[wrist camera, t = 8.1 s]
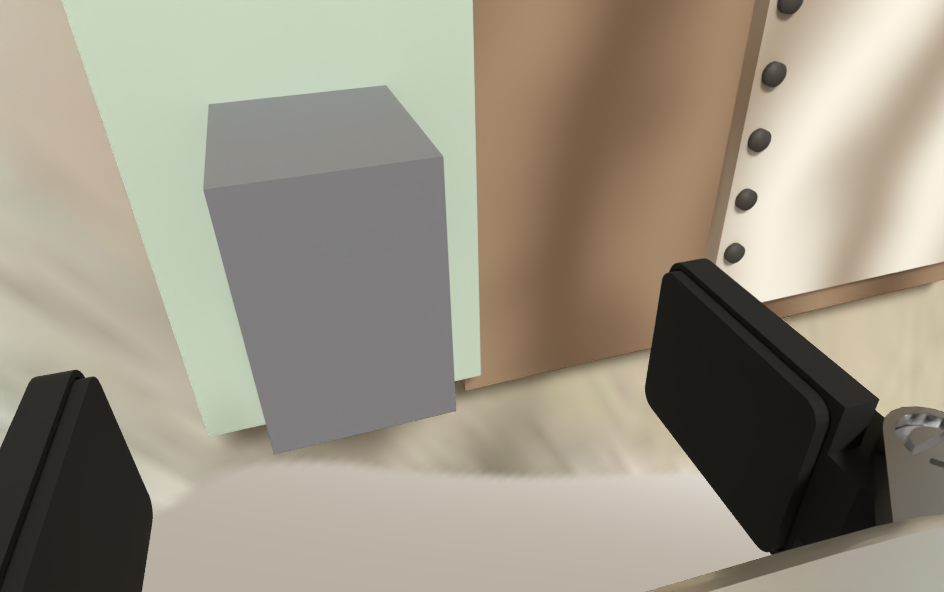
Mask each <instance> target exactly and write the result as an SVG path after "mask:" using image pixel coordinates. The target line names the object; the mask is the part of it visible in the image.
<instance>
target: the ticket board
mask: <svg viewBox="0 0 944 592" xmlns="http://www.w3.org/2000/svg"><path fill="white" fill-rule="evenodd" d="M473 38H474V84H475V130H476V176H477V222H478V268H479V314H480V360H481V375H480V376H476V377H471V378H467V379H462V380H461V383H462V385H463V387H464V389H465V391H467V390H471V389H475V388H480V387H484V386H488V385H493V384H497V383H501V382H505V381H510V380H514V379H518V378H523V377H527V376H531V375H536V374H540V373H544V372H549V371H553V370H557V369H561V368H566V367H570V366H574V365H579V364H583V363H587V362H592V361H596V360H600V359H605V358H609V357H613V356H617V355H622V354H626V353H630V352H635V351H639V350H643V349H648V348H651V346H652V339H653V333H654V327H655V320H656V314H657V308H658V301H659V295H660V288H661V282H662V278H663V276H664V275H665V274H666V273H668V272H669V271H670V268H671V267H672V265H674V264H675V263H679V262H685V261H690V260H696V259H701V258H706V259H708V260H710V261H712V262H713V263H714V264H715V265H716V266H718V267H719V268H720V269H721V270H723V271H724V272H725V273H726V274H727V275H729V276H730V277H731V278H732V279H733V280H735V281H736V282H737V283H738V284H740V285H741V286H742V287H743V288H744V289H746V290H747V291H748V292H749V293H751V294H752V295H753V296H754V297H755V298H757V299H758V300H759V301H760V302H761V303H763V304H764V305H765V306H766V307H768V308H769V309H770V310H771V311H772V312H774V313H775V314H776V315H777V316H779V317H780V318H781V317H785V316H790V315H794V314H798V313H803V312H807V311H811V310H816V309H820V308H824V307H828V306H833V305H837V304H841V303H846V302H850V301H854V300H859V299H863V298H867V297H871V296H876V295H880V294H884V293H889V292H893V291H897V290H902V289H906V288H910V287H915V286H919V285H923V284H927V283H932V282H936V281H940V280H944V0H473Z"/></svg>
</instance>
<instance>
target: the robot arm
mask: <svg viewBox="0 0 944 592" xmlns="http://www.w3.org/2000/svg"><path fill="white" fill-rule="evenodd" d="M645 394H646V398H647V401H648V403H649V405H650V407H651V408H652V410H653V411H654V412H655V413H656V415H657V416H658V417H659V419H660V420H661V421H662V423H663V424H664V425H665V427H666V428H667V429H668V430H669V432H670V433H671V434H672V436H673V437H674V438H675V440H676V441H677V442H678V444H679V445H680V446H681V447H682V449H683V450H684V451H685V453H686V454H687V455H688V457H689V458H690V459H691V461H692V462H693V463H694V465H695V466H696V467H697V468H698V470H699V471H700V472H701V474H702V475H703V476H704V478H705V479H706V480H707V482H708V483H709V484H710V485H711V487H712V488H713V489H714V491H715V492H716V493H717V495H718V496H719V497H720V498H721V500H722V501H723V502H724V504H725V505H726V506H727V508H728V509H729V510H730V512H732V514H733V515H734V517H735V518H736V519H737V521H738V522H739V523H740V525H741V526H742V527H743V529H744V530H745V531H746V532H747V534H748V535H749V536H750V538H751V539H752V540H753V542H754V543H755V544H756V545H757V547H758V548H760V549H761V550H762V551H765V552H770V553H771V554H772V555H770V556H766V557H763V558H759V559H756V560H753V561H749V562H746V563H743V564H739V565H736V566H732V567H729V568H726V569H722V570H719V571H715V572H712V573H708V574H705V575H701V576H698V577H695V578H691V579H688V580H685V581H681V582H678V583H674V584H671V585H667V586H664V587H660V588H657V589H654V590H651V591H647V592H944V412H942V411H939V410H936V409H931V408H924V407H917V406H915V407H901V408H898V409H896V410H893V411H891V412H890V413H889V414H888V415H887V416H886V417H885V418H884V417H883V416H882V415H881V414H879V413H878V412H877V411H876V410H875V409H876V406H877V404H878V401H879V399H878V398H877V397H876V396H875V395H873V394H872V393H871V392H870V391H869V390H867V389H866V388H865V387H864V386H862V385H861V384H860V383H859V382H858V381H856V380H855V379H854V378H853V377H852V376H850V375H849V374H848V373H847V372H845V371H844V370H843V369H842V368H841V367H839V366H838V365H837V364H836V363H834V362H833V361H832V360H831V359H830V358H828V357H827V356H826V355H825V354H824V353H822V352H821V351H820V350H819V349H817V348H816V347H815V346H814V345H813V344H811V343H810V342H809V341H808V340H806V339H805V338H804V337H803V336H802V335H800V334H799V333H798V332H797V331H796V330H794V329H793V328H792V327H791V326H789V325H788V324H787V323H786V322H785V321H783V320H782V319H781V318H780V317H779V316H777V315H776V314H775V313H774V312H772V311H771V310H770V309H769V308H768V307H766V306H765V305H764V304H763V303H761V302H760V301H759V300H758V299H757V298H755V297H754V296H753V295H752V294H751V293H749V292H748V291H747V290H746V289H744V288H743V287H742V286H741V285H740V284H738V283H737V282H736V281H735V280H733V279H732V278H731V277H730V276H729V275H727V274H726V273H725V272H724V271H723V270H721V269H720V268H719V267H718V266H716V265H715V264H714V263H713V262H712V261H710V260H708V259H706V258H701V259H696V260H690V261H685V262H679V263H675V264H674V265H672V267H671V268H670V271H669V272H668V273H666V274H665V275H664V276H663V278H662V282H661V288H660V295H659V301H658V308H657V314H656V320H655V327H654V333H653V339H652V346H651V352H650V359H649V365H648V371H647V378H646V384H645ZM152 519H153V512H152V504H151V500H150V497H149V494H148V492H147V490H146V488H145V485H144V483H143V481H142V478H141V476H140V474H139V472H138V469H137V467H136V465H135V462H134V460H133V458H132V455H131V453H130V451H129V449H128V446H127V444H126V442H125V439H124V437H123V435H122V432H121V430H120V428H119V426H118V423H117V421H116V419H115V416H114V414H113V412H112V409H111V407H110V405H109V403H108V400H107V398H106V396H105V393H104V391H103V389H102V386H101V384H100V382H99V381H98V379H97V378H96V377H88V378H85V377H84V375H83V374H82V373H81V372H80V371H78V370H72V371H66V372H60V373H55V374H49V375H43V376H38V377H34V378H32V379H31V381H30V382H29V384H28V386H27V389H26V391H25V393H24V395H23V398H22V400H21V402H20V405H19V407H18V409H17V411H16V414H15V416H14V418H13V420H12V423H11V425H10V427H9V429H8V432H7V434H6V436H5V439H4V441H3V443H2V445H1V448H0V592H142V585H143V580H144V573H145V567H146V560H147V553H148V547H149V540H150V533H151V527H152Z"/></svg>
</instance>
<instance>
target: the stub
mask: <svg viewBox="0 0 944 592" xmlns="http://www.w3.org/2000/svg"><path fill="white" fill-rule="evenodd" d="M62 3H63V6H64V9H65V12H66V15H67V18H68V21H69V24H70V27H71V30H72V33H73V36H74V39H75V42H76V45H77V48H78V51H79V54H80V57H81V60H82V62H83V65H84V68H85V71H86V74H87V77H88V80H89V83H90V86H91V89H92V92H93V95H94V98H95V101H96V104H97V107H98V110H99V113H100V116H101V119H102V122H103V125H104V128H105V131H106V134H107V137H108V140H109V143H110V146H111V149H112V152H113V155H114V157H115V160H116V163H117V166H118V169H119V172H120V175H121V178H122V181H123V184H124V187H125V190H126V193H127V196H128V199H129V202H130V205H131V208H132V211H133V214H134V217H135V220H136V223H137V226H138V229H139V232H140V235H141V238H142V241H143V244H144V247H145V250H146V252H147V255H148V258H149V261H150V264H151V267H152V270H153V273H154V276H155V279H156V282H157V285H158V288H159V291H160V294H161V297H162V300H163V303H164V306H165V309H166V312H167V315H168V318H169V321H170V324H171V327H172V330H173V333H174V336H175V339H176V342H177V344H178V347H179V350H180V353H181V356H182V359H183V362H184V365H185V368H186V371H187V374H188V377H189V380H190V383H191V386H192V389H193V392H194V395H195V398H196V401H197V404H198V407H199V410H200V413H201V416H202V419H203V422H204V425H205V428H206V431H207V434H208V437H212V436H216V435H221V434H225V433H229V432H234V431H238V430H243V429H247V428H251V427H256V426H260V425H265V424H266V427H267V431H268V434H269V438H270V442H271V446H272V449H273V453H274V455H275V454H279V453H283V452H287V451H291V450H295V449H300V448H304V447H308V446H312V445H316V444H321V443H325V442H329V441H333V440H337V439H341V438H346V437H350V436H354V435H358V434H362V433H367V432H371V431H375V430H379V429H383V428H387V427H392V426H396V425H400V424H404V423H408V422H412V421H417V420H421V419H425V418H429V417H433V416H438V415H442V414H446V413H450V412H454V411H456V398H455V381H458V380H462V379H467V378H471V377H476V376H480V375H481V360H480V314H479V268H478V222H477V176H476V130H475V84H474V38H473V0H62Z"/></svg>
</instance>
